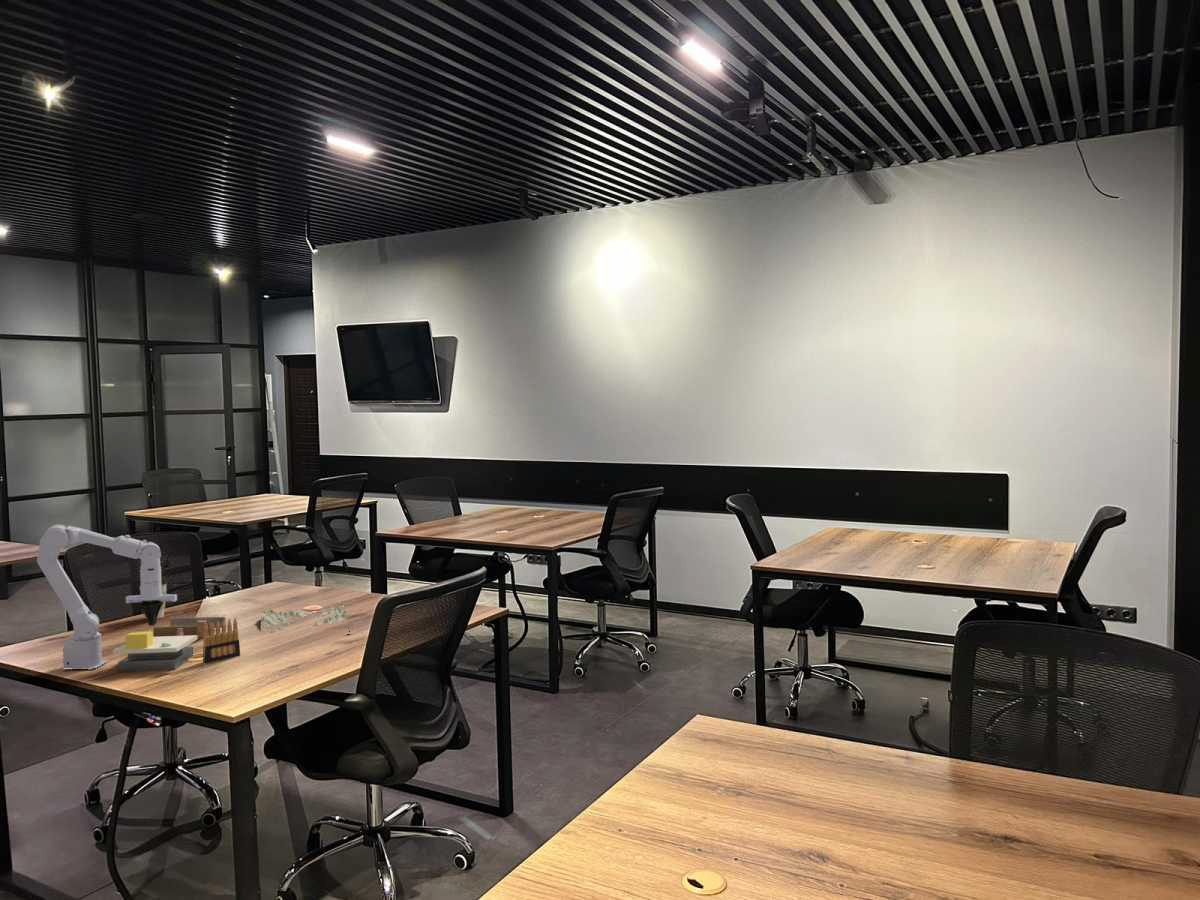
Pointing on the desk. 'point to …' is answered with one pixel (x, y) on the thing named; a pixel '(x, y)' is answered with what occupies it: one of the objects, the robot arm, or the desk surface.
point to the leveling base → (155, 660)
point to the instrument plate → (153, 643)
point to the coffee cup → (163, 584)
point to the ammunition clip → (221, 642)
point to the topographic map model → (274, 618)
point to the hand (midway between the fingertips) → (152, 624)
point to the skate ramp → (188, 626)
